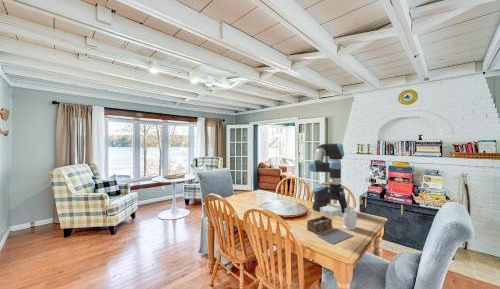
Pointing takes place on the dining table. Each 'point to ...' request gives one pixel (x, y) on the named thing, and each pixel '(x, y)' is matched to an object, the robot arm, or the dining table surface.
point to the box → (319, 224)
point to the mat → (335, 236)
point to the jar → (350, 219)
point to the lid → (333, 210)
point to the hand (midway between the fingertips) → (335, 214)
